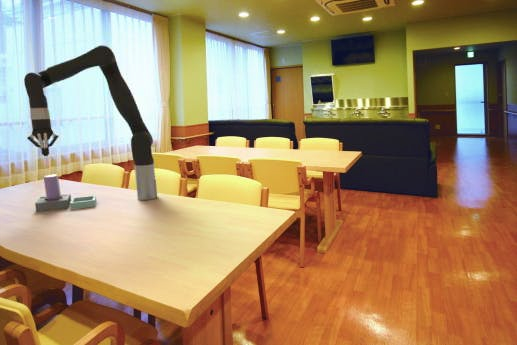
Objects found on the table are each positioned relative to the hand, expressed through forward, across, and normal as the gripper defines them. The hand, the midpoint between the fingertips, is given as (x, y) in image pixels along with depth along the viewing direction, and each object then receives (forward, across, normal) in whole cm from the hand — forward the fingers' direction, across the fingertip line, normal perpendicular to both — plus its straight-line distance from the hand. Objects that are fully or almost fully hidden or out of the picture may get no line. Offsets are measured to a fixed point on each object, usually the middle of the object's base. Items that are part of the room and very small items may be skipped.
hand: (45, 155), depth 169 cm
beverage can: (+24, -1, +1) cm, 24 cm away
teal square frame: (+24, -14, +5) cm, 28 cm away
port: (+24, -1, +1) cm, 24 cm away
